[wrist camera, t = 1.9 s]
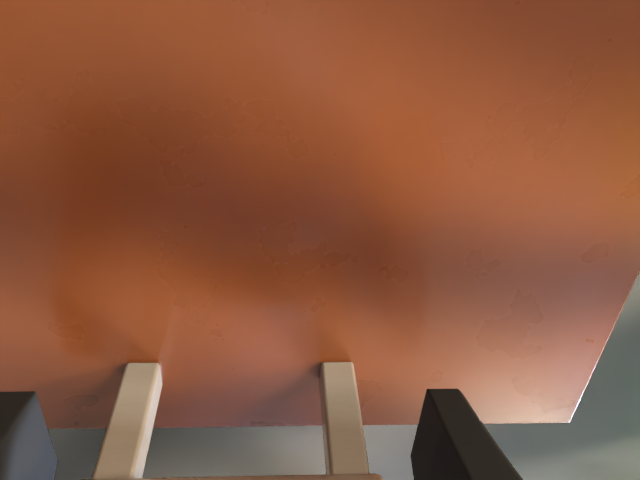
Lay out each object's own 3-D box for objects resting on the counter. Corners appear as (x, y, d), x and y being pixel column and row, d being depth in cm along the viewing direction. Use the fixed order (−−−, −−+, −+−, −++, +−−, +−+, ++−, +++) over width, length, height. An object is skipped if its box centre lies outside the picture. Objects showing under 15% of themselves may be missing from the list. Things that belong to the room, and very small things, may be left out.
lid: (560, 403, 14) (670, 617, 10) (-104, 409, 13) (-276, 657, 9) (767, -70, 8) (1208, -6, 4) (-399, -147, 7) (-1267, -153, 3)
